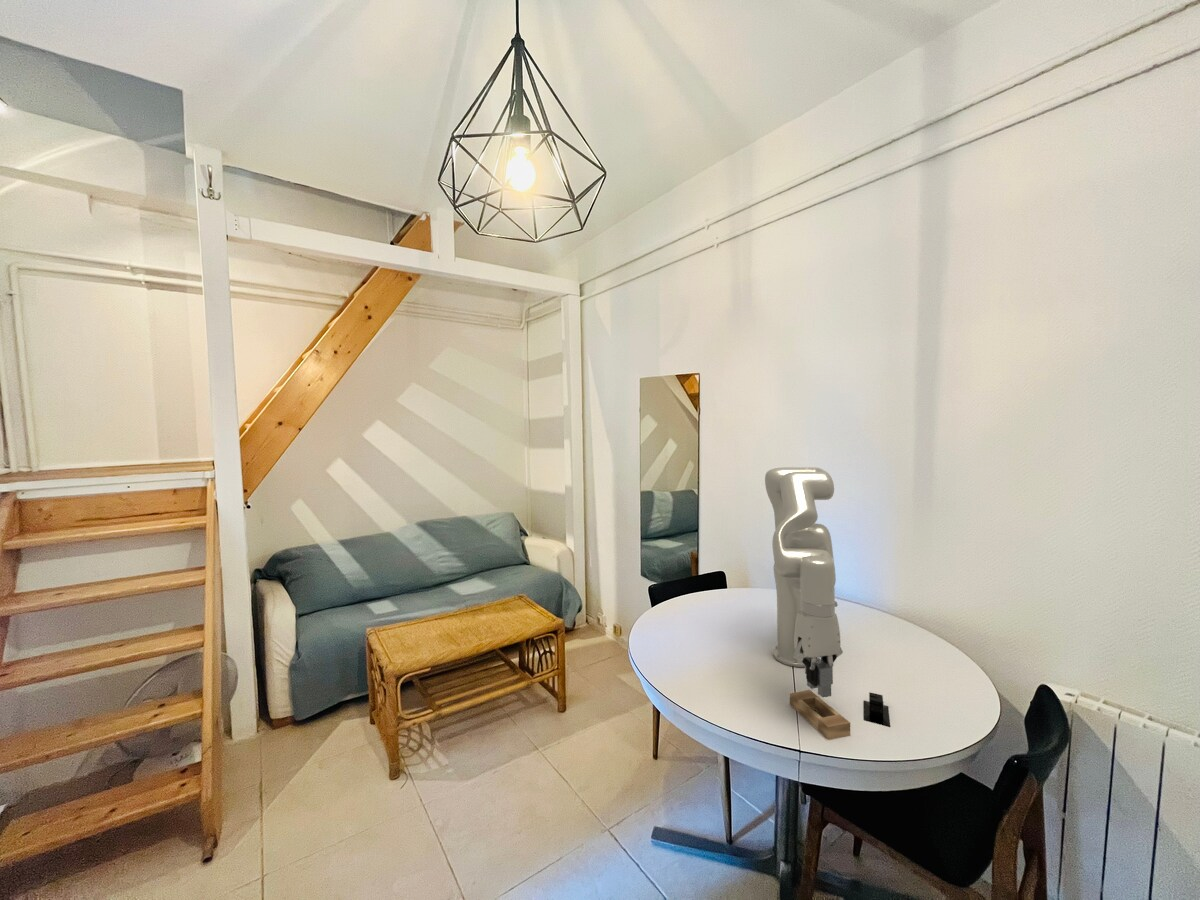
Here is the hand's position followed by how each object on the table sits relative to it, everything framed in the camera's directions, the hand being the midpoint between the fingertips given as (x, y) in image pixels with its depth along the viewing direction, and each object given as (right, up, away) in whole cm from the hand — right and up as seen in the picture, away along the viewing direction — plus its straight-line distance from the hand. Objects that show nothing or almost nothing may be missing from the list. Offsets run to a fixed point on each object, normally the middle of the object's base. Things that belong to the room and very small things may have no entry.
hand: (818, 681), depth 110 cm
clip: (0, -2, 0) cm, 2 cm away
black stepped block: (+16, -10, +3) cm, 19 cm away
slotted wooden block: (0, -10, +1) cm, 10 cm away
